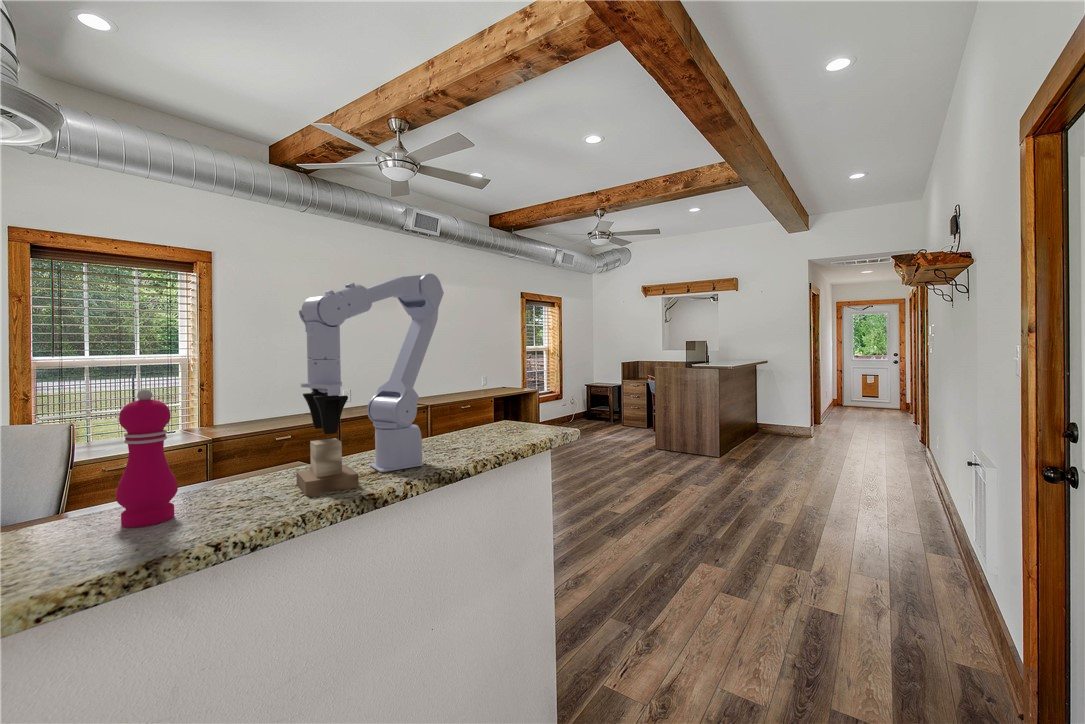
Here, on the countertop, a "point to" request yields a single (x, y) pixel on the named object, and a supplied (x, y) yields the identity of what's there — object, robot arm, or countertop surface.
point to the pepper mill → (146, 464)
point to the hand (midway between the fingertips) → (325, 430)
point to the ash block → (326, 457)
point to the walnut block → (326, 481)
